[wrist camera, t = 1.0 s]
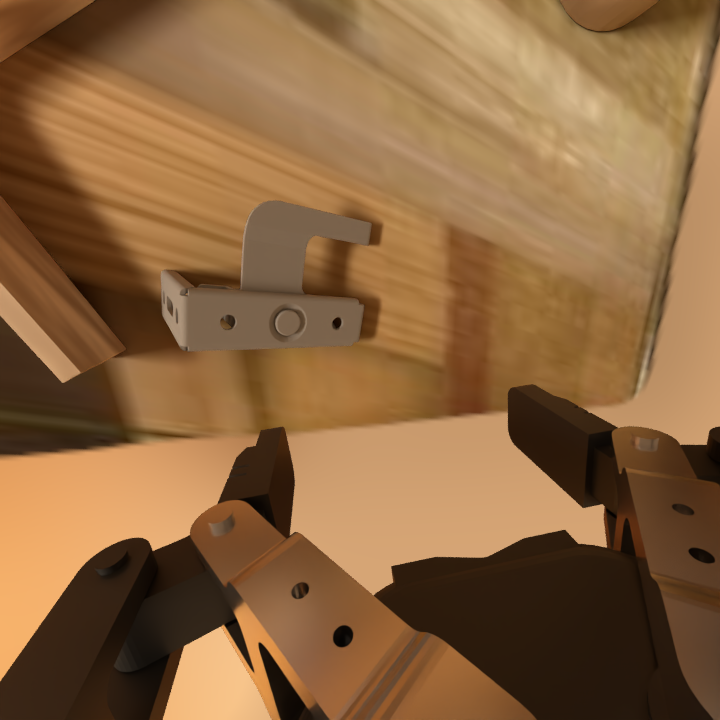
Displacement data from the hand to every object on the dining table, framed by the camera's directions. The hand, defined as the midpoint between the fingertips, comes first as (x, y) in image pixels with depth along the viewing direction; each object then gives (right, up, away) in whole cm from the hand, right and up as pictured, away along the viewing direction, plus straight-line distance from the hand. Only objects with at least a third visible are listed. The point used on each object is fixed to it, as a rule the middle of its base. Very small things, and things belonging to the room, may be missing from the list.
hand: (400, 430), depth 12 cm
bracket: (-9, +10, +18) cm, 23 cm away
